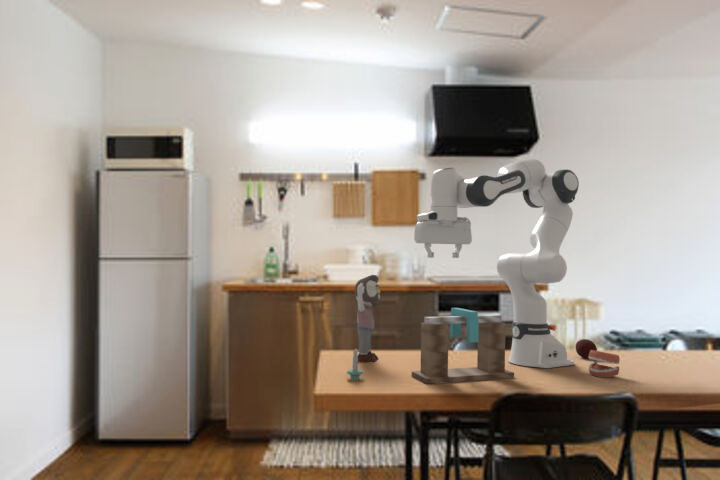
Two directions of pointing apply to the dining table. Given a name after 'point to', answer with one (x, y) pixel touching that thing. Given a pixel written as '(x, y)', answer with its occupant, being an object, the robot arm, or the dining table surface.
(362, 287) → the figurine
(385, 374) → the dining table surface
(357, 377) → the screw
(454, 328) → the teal stepped bracket
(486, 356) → the shelf
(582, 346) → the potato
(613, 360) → the dentures
